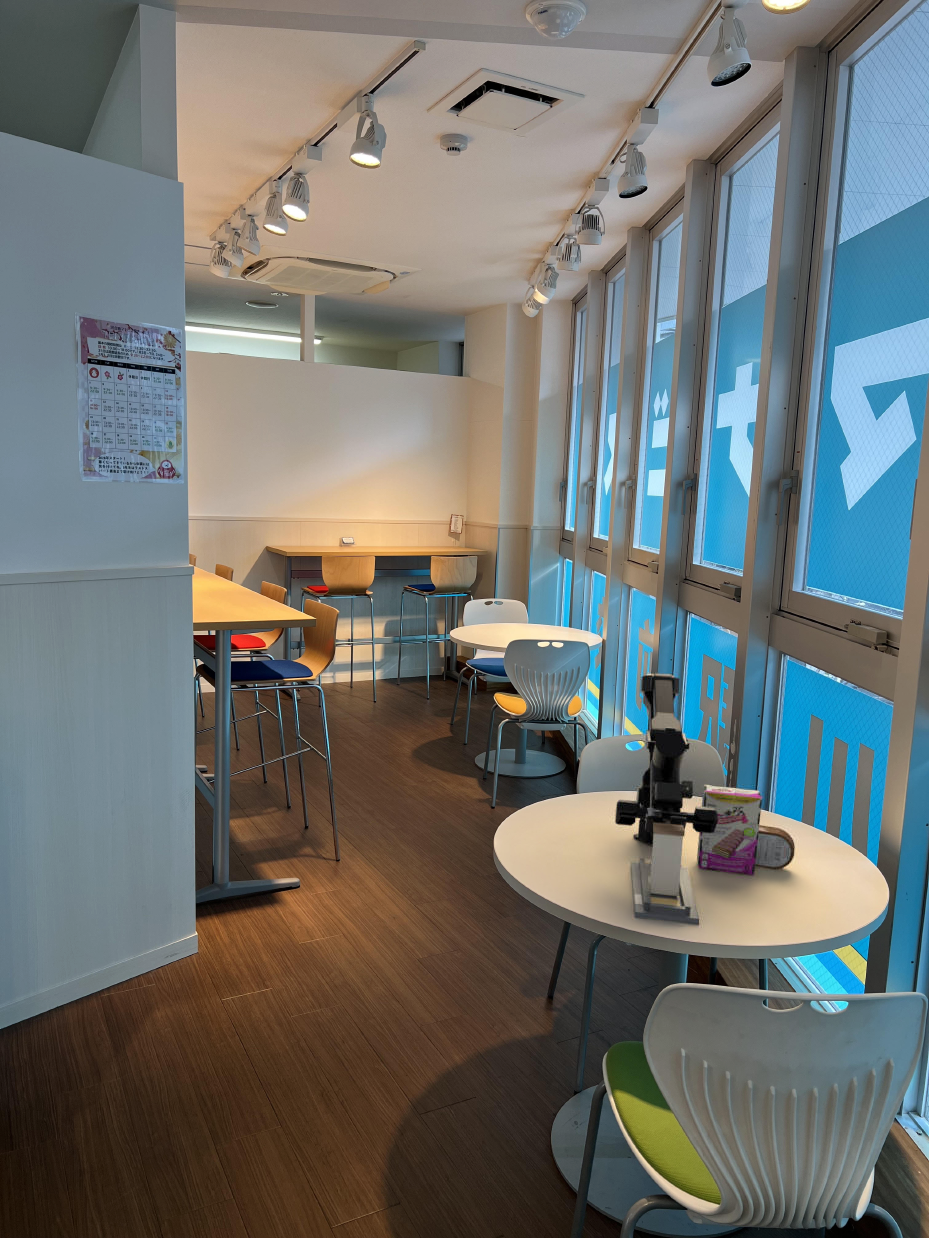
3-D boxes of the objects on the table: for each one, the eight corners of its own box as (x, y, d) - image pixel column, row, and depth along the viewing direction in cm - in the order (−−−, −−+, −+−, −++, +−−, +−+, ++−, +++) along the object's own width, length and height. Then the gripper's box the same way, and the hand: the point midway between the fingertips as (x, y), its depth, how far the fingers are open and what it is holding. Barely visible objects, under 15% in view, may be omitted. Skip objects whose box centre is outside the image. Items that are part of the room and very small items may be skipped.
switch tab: (648, 886, 160) (653, 822, 158) (678, 889, 159) (683, 825, 157) (649, 893, 157) (654, 828, 155) (679, 896, 156) (684, 831, 154)
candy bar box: (697, 869, 172) (703, 791, 170) (696, 860, 177) (702, 783, 175) (755, 877, 170) (762, 797, 167) (752, 866, 174) (759, 789, 172)
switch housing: (630, 866, 172) (631, 854, 172) (686, 872, 170) (687, 860, 170) (635, 917, 150) (635, 903, 150) (699, 924, 149) (700, 910, 148)
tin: (792, 867, 175) (796, 828, 173) (793, 874, 172) (797, 834, 170) (716, 855, 179) (719, 817, 178) (715, 861, 176) (718, 823, 175)
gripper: (619, 758, 163) (617, 835, 154) (720, 767, 160) (724, 845, 151) (616, 786, 172) (613, 860, 162) (711, 794, 169) (714, 870, 159)
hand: (665, 858), depth 158 cm, fingers closed, pressing on switch tab
